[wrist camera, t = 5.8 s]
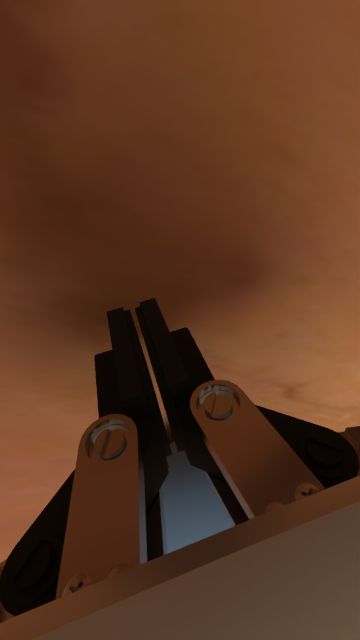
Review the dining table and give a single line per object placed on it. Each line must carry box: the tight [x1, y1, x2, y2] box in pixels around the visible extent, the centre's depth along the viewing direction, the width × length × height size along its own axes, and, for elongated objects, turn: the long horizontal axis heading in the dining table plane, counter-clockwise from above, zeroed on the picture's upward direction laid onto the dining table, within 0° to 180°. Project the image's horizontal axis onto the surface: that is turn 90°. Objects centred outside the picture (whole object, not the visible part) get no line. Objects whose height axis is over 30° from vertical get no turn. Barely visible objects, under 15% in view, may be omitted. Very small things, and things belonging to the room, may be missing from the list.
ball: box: [161, 441, 233, 554], centre depth 15 cm, size 6×6×6 cm
